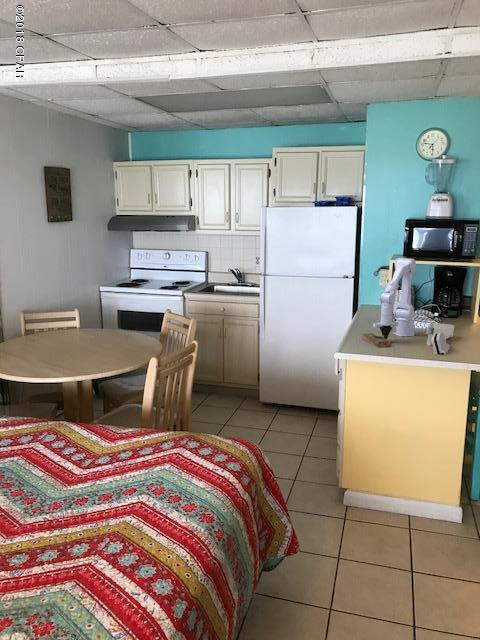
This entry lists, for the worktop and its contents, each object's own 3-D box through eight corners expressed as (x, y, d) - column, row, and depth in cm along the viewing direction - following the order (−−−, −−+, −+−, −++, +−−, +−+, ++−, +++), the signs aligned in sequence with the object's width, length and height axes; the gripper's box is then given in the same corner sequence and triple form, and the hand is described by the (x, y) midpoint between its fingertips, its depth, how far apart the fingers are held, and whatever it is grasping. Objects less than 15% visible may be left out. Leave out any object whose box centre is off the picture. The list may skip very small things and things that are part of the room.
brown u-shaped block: (373, 338, 295) (373, 333, 294) (390, 346, 278) (390, 340, 277) (361, 339, 293) (362, 333, 292) (377, 347, 276) (378, 341, 275)
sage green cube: (380, 341, 289) (380, 334, 288) (383, 342, 285) (384, 335, 284) (373, 341, 288) (374, 334, 287) (376, 343, 284) (377, 335, 283)
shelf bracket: (422, 345, 281) (426, 321, 280) (442, 346, 299) (446, 324, 298) (432, 347, 277) (436, 323, 276) (452, 347, 295) (456, 325, 294)
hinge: (445, 355, 261) (439, 336, 261) (435, 357, 264) (430, 338, 263) (450, 347, 276) (444, 329, 275) (441, 349, 278) (435, 331, 278)
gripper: (393, 312, 289) (392, 336, 292) (370, 314, 285) (369, 338, 288) (401, 315, 283) (399, 339, 286) (377, 316, 278) (376, 341, 281)
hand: (385, 339), depth 286 cm, fingers closed
